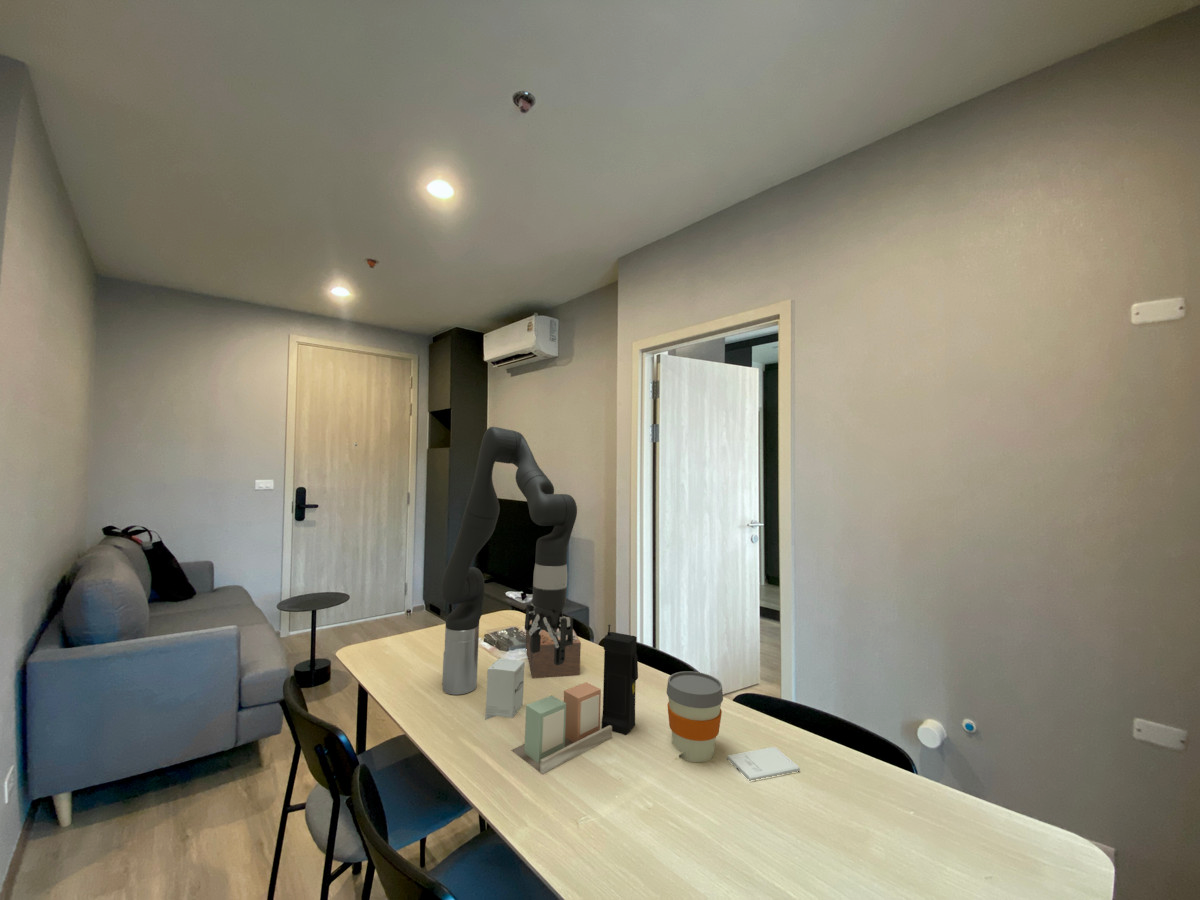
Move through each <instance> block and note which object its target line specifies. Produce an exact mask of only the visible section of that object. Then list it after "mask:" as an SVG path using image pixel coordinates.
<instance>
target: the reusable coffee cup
mask: <svg viewBox="0 0 1200 900" xmlns="http://www.w3.org/2000/svg"><path fill="white" fill-rule="evenodd" d="M666 687H667V688H666V695H667V697H668V702H667V705H666V706H667V715H668V724H669V725H668V726H669V729H670V730H671V737H672V738H671V739H672V744H673V746H674V747H675V748H676V749H677V750H678V751H680V752H681V754H679V755H678V757H679V758H680V759H683V760H684V761H687V762H691V763H692V762H693V763H704V762H709V761H710V760H711V759H712V758H713V757H714V755H715V754H714V753H715V749H716V742H717V736H719V734H720V733H719V732H720V728H721V727H720V726H721V719H722V708H721V707H722V706H721V705H722V703H723V700H724V693H723V685H722V682H721V681H720V680H719V679H718V678H716V677H715V676H712V675H710V674H707V673H703V672H700V671H678V672H675V673H672V674H671V675H669V677H668V679H667V686H666Z"/></svg>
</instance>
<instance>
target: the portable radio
mask: <svg viewBox="0 0 1200 900" xmlns="http://www.w3.org/2000/svg"><path fill="white" fill-rule="evenodd" d="M607 626H608V628H607V629H608V631H607V634H606V635H605V636H604V638H603V650H604V652H603V653H604V656H603V657H604V658H603V686H602V687H603V689H602V692H603V693H602V695H603V697H602V715H601V729H603V728H605V727H607V726H609V725H611V726H612V733H617V734H621V735H624V736H627V735H629V733H630V732H631V731H632V730H633V729H634V727H635V726H636V684H637V683H636V681H637V680H638V679H639V669H638V667H639V665H638V662H639V661H638V654H637V638H638V637H637V636H635V635H631V634H630V635H629V634H625V633H619V632H615V631H611V624H608V625H607Z"/></svg>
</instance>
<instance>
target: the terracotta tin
mask: <svg viewBox="0 0 1200 900" xmlns="http://www.w3.org/2000/svg"><path fill="white" fill-rule="evenodd" d="M601 696H602V689H601V688H599V687H597V686H595V685H593V684H591V683H589V682H587V681H586V682H583V683H581V684H580V683H579V684H577V685H575V686H573V687H571V688H567V689H565V690H563V702H565V703H566V725H565V737H566V738H567V739H569V740H570V741H572V742H573V743H575V742H577V741H579V740H581V739H583V738H585V737H587V736H589V735H591V734H593V733H595V732H597V731H599V730H601V727H600V726H601V701H602V700H601Z"/></svg>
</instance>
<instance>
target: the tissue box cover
mask: <svg viewBox="0 0 1200 900" xmlns="http://www.w3.org/2000/svg"><path fill="white" fill-rule="evenodd" d="M530 624H532V620H530ZM558 631H559V628H558V629H557V630H556V631H554V632H558ZM539 634H540V635H541V641H540V651H539V652H536V653H532V652H531V651H530V650H531V648H530V641H531V636H530V635H529V631H528V630H527V631H526V630H525V642H526V648H525V650H526V649H527V653H526V657H527V661H528V665H529V670H530V675H531V679H546V678H557V677H558V678H560V677H574V676H575V677H576V676H580V674H581V649H582V648H581V647H582V643H581V641H580V639H579V637H578V636H577V633H576V631H575V630H574V629H573V644H572V645H570V646H566V647H565V660H564V663H563V664H560V665H555V664H554V651H555V644H554V641H553V639H552V638H550V635H549V633H548V632H546V631H545V630H542V631H541V633H539ZM558 640H559V641H560V637H559V636H558ZM566 640H568V635H566Z"/></svg>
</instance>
